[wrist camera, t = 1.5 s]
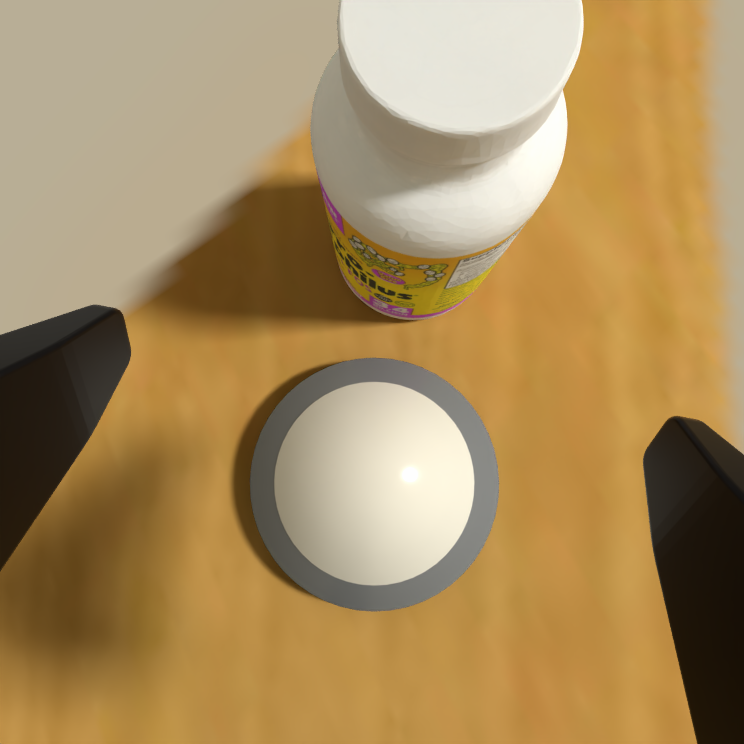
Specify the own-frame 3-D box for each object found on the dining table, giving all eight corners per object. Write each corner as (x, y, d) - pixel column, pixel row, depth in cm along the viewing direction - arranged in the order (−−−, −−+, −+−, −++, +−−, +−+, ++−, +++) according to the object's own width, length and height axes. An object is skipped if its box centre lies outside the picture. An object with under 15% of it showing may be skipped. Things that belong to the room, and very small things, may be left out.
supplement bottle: (307, 234, 22) (213, -25, 9) (427, 151, 23) (492, -206, 10) (395, 355, 22) (422, 252, 9) (517, 268, 22) (713, 48, 9)
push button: (460, 631, 20) (465, 643, 19) (226, 564, 21) (218, 572, 20) (517, 395, 21) (525, 393, 20) (293, 335, 22) (289, 330, 21)
